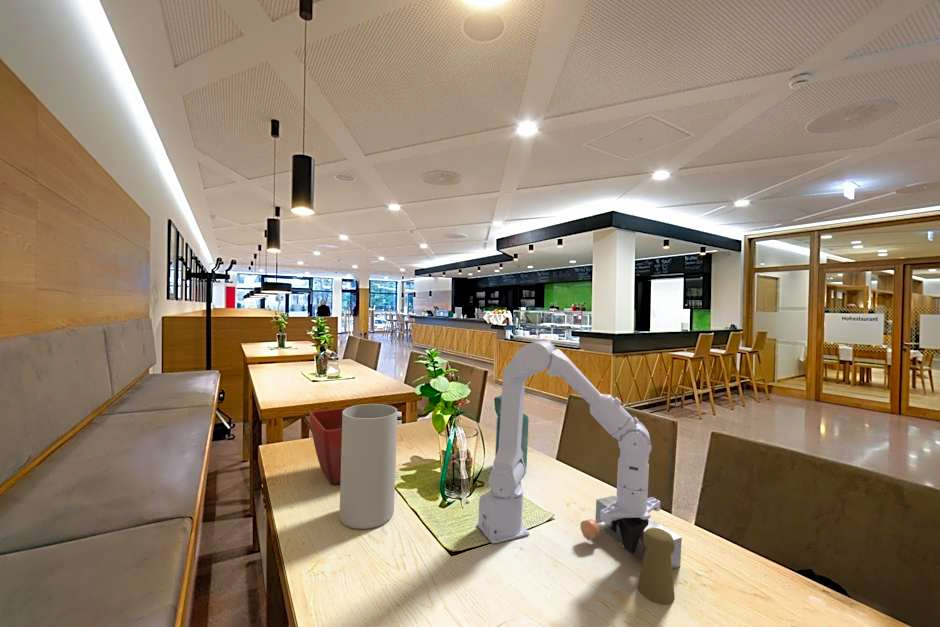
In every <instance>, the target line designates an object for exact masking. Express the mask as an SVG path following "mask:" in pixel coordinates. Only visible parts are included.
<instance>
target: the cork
mask: <svg viewBox="0 0 940 627" xmlns="http://www.w3.org/2000/svg"><path fill="white" fill-rule="evenodd" d="M643 543H644V546H645V547H646V549H645V554H644V558H643V560H642V565H641V570H640V574H639V580H638V584H637V588H638V591H639V592H640V594H641V595H642V596H643V597H644V598H646V599H647V600H649V601H650V602H652V603H656V604H659V605H670V604H672V603H674V601H675V599H676V598H675V588H674V576H673V575H674V574H673V570H672V563H671V554H673V551H674V549H675V544H674V540H673V538H672V536H671V535H670V534H669V533H668V532H666V531H664V530H662V529H659V528H649V529H647V530H646V531H645V532H644V534H643Z"/></svg>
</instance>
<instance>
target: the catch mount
mask: <svg viewBox="0 0 940 627" xmlns="http://www.w3.org/2000/svg"><path fill="white" fill-rule="evenodd" d="M616 497H617V496H616V495H610V496H605V497H601V498H597V499H596V502H595V520H594V521H595V522H596V523H600V522H603V521H601V520H600V510H602V509H605V508H607V507H608V506H609V505H611V504H612V503H613V502H615V501H616ZM648 520H649V522H648V526H647V527H646V528H645V529H644V531H643V532H642V534H641V536H642V537H643V534H644V532H645V531H646V530H647V529H649V528H659V529H662V530H664V531H666V532H668V533H669V534H670V535H671V536H672V538H673V540H674V544H675V549H674V551H673V554H671V563H672V571H673V570H675V569H678V568H681V557H682V543H683V542H682V540H683V539H682V538H683V537H682V536H680V535H678V533H675V532H674V531H672V530H671V529H670V528H667V527H666V526H664V525H662V524H661V523H660V522H657V521H656V520H654V519H653V518H651V517H650V518H649V519H648ZM612 523H613V527H610V528H607V529H603V530H602V531H603V532H604V533H606V534H607V535H608V536H610V537H611V538H613V540H615V541H616V542H618V543H619V544H620V545H622V546H623V542H622V537H621V533H620V530H619V527H618V525H617V522H616V520H614V521H612ZM637 557H638V558H639V559H640V560H642V561H643V558H644V554H643V555H640V556H637Z"/></svg>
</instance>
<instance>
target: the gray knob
mask: <svg viewBox="0 0 940 627" xmlns="http://www.w3.org/2000/svg"><path fill="white" fill-rule="evenodd" d="M645 549H646V547H645V546H644V543H643V537H642V536H640V538H639V541H638V544H637V547H636V550H635V552H634V553H632V554H631V555H632V556H633V557H638V556H640V555H643V554H645Z"/></svg>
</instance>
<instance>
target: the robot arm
mask: <svg viewBox="0 0 940 627" xmlns="http://www.w3.org/2000/svg"><path fill="white" fill-rule="evenodd" d="M546 369H547V371H546V375H548V376H552V377H558V378H561V379H562V380H564V382H565V383H566V384H567V385H569V386H570V387H571V388H572V389H573V390H574V391H575V392H576V393H577V394H578V395H579V396H580V397H582V399H583V400H584V401H585V402H587V404H589V414H590V415H591V416H592V417H593V418H594V419H595V420H596V422H597V423H598V424H599V425H600V426H602V428H603V429H604V430H605V431H606V432H608V434H609V435H610V436H611V437H612V438H613V439H616V440H617V443H618V447H619V450H620V451H619V457H618V459H617V479H616V480H617V481H616V484H617V485H616V496H615V497H616V501H615V502H613V503H612V504H611V505H609V506H608V507H607V508H605V509H602V510H600V520H601V521H603V522H604V523H606V524H607V525H608V524H611V521H614V520H616V522H617V525H618V527H619V530H620V533H621V537H622V542H623V545H622V547H623V549H624V550H626V552H628V553H630V554H631V555H632V553H634V552H635V550H636V547H637V544H638V541H639V538H640V536H641V534H642V532H643V531H644V529H645V528H646V527H647V526H648V522H649V520H648V519H649V518H651V514H650V513H651V512H652V511H655V512H660V511H661V501H660V500H659V499H656V497H653V496H652V497H648V493H649V491H648V490H649V475H650V474H649V473H650V472H649V471H650V470H649V469H650V464H649V460H650V453H651V451H652V449H653V448H652V447H653V446H652V444H651V443H652V442H651V438H650V432H649V431H648V429H647V428H646V426H645V425H644V423H642V422H641V421H639V419H638V418H637V417H636V416H634V417H633V416H632V415H631V414H630V413H629V412H628V411H627V410H626V409H625V408H624V407H623V406H622V404H621V403H622V400H620V399H619V398H618V397H617V396H615V397H613V395H611V394H605V393H601V392H600V391H599V390H598V389H597V388H596V387H595V385H594V384H593V383H592V382H591V381H590V380H589V379H588V378H587V377H586V375H584V373H582V371H581V370H580V369H579V368H578V367H577V366H576V365H575V364H574V363H573V362H572V361H571V359H570V358H568V356H567V355H566V354H565V353H564V352H563V351H561V350H560V349H559V348H556V346H555V344H553V342H551V341H550V340H547V339H539V340H536V341H534V342H530V343H528V344H526V345H523V346H522V347H521V348H520V349H518V350H517V351H516V353H515V355H514V356H513V357H512V359H511V360H510V361H509V363H508V364H507V366H506V367H505V368H504V370H503V372H502V373H503V374H502V385H501V386H502V389H501V395H502V400H501V416H500V432H499V447H498V452H497V454H496V457H494V461H493V466H492V470H491V472H490V474H489V476H488V481H487V482H488V485H489V486H488V487H489V488H490V490H488V491H487V492H485V493H483V494H481V495H480V497H479V500H478V501H479V502H478V522H477V523H476V526H477V527H478V528H479V530H480V531H481V533H483V534H484V536H485V537H486V538H487V539H488V540H489V541H490V543H491V544H493V545H495V544H498V543H501V542H506V541H509V540H513V539H518V538H521V537H525V536H529V535H530V531H529V530H528V529H527V528H526V527H525V526H524V525H523V522H522V521H523V499H524V489H523V486H522V480H523V479H524V478H525V475H526V472H527V469H526V468H527V467H525V464H524V462H523V452H522V449H521V439H522V423H523V414H524V408H525V407H524V404H525V391H526V390H525V388H526V380H528V379H529V378H530V377H532V376H533V375H536V374H539V373H542V372H543V371H545V370H546Z"/></svg>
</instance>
